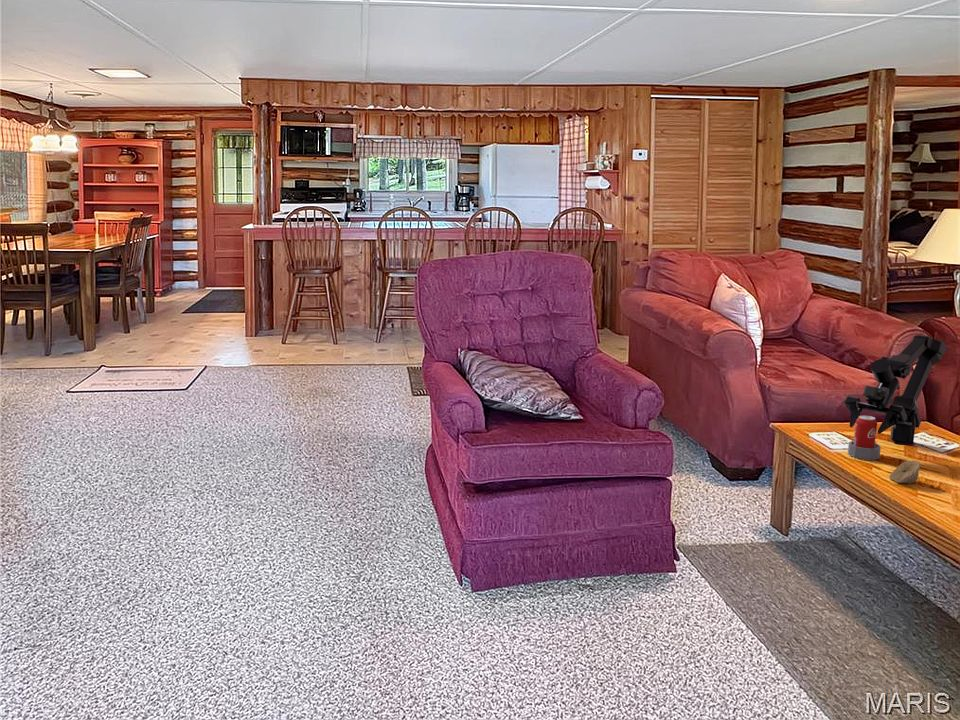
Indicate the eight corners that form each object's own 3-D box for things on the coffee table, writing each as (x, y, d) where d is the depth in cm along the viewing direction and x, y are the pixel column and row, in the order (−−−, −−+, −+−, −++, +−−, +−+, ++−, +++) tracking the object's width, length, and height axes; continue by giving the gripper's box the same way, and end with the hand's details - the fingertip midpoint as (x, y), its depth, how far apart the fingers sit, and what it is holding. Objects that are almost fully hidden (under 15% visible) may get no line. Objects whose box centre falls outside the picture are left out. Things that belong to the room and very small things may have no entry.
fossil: (904, 457, 269) (924, 460, 260) (913, 468, 270) (934, 471, 260) (883, 477, 268) (903, 481, 259) (893, 488, 269) (913, 492, 259)
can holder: (875, 453, 293) (876, 441, 293) (882, 461, 284) (883, 449, 284) (845, 451, 295) (846, 439, 294) (851, 459, 286) (852, 447, 285)
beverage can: (873, 457, 286) (877, 420, 283) (851, 454, 288) (855, 418, 286) (873, 452, 291) (878, 416, 289) (852, 449, 294) (856, 413, 291)
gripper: (850, 371, 294) (829, 409, 289) (907, 381, 280) (886, 421, 275) (859, 392, 301) (839, 429, 296) (915, 402, 287) (895, 442, 282)
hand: (864, 429), depth 287 cm, fingers open, 9 cm apart
